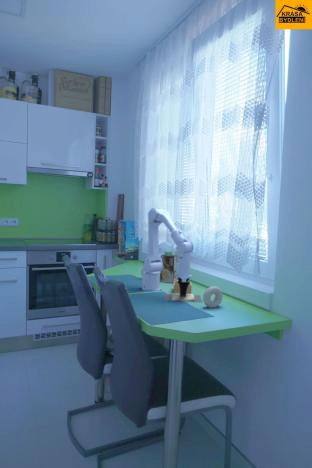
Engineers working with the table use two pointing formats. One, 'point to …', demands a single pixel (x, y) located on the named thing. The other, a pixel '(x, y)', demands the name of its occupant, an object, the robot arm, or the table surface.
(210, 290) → the donut
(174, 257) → the coffee box
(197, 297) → the mat
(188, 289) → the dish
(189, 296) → the lid
